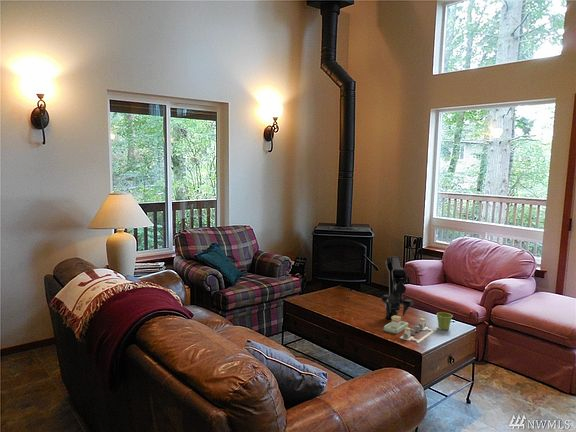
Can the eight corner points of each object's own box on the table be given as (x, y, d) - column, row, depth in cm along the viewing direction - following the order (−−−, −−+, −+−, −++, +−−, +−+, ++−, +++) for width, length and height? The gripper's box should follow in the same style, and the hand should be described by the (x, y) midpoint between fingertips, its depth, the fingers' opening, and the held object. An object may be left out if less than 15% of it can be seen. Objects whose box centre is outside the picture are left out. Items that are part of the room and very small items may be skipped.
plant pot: (433, 328, 254) (433, 314, 254) (439, 324, 261) (440, 311, 260) (448, 332, 248) (449, 318, 247) (454, 328, 255) (455, 314, 254)
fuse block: (399, 338, 238) (400, 328, 237) (419, 325, 258) (419, 316, 258) (418, 343, 231) (419, 333, 230) (436, 330, 251) (437, 321, 250)
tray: (383, 330, 249) (383, 326, 249) (395, 323, 262) (395, 319, 262) (396, 334, 244) (396, 330, 243) (408, 326, 256) (408, 322, 256)
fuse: (390, 327, 252) (391, 316, 252) (394, 325, 256) (394, 315, 255) (397, 329, 250) (398, 318, 249) (400, 327, 253) (401, 316, 252)
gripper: (377, 288, 250) (376, 313, 252) (406, 294, 238) (405, 321, 239) (386, 285, 259) (385, 309, 260) (414, 291, 246) (413, 316, 248)
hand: (396, 314), depth 252 cm, fingers open, 9 cm apart
